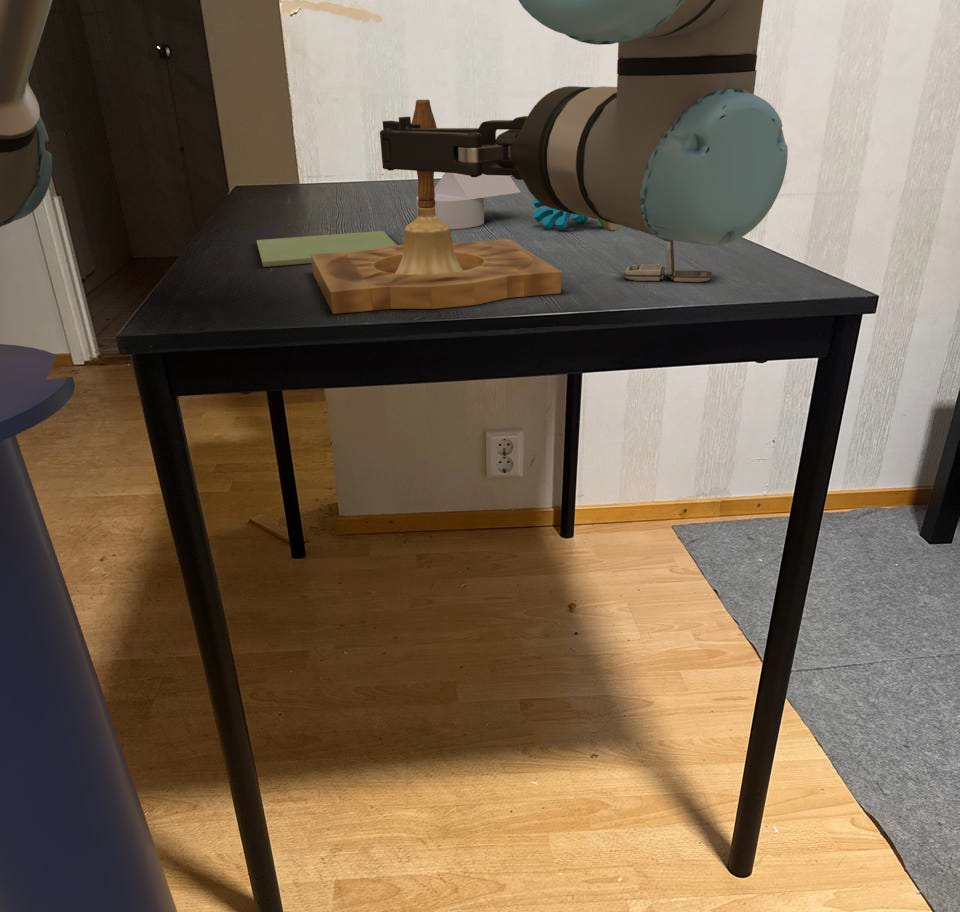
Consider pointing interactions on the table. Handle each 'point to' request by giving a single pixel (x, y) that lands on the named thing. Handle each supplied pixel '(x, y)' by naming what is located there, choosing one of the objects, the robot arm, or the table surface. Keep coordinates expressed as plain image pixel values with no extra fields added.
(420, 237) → the hand bell
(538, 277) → the socket board
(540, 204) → the gear
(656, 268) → the strap clip
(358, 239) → the mat
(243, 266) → the table surface
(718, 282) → the table surface
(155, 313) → the table surface
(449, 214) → the wedge on round base
